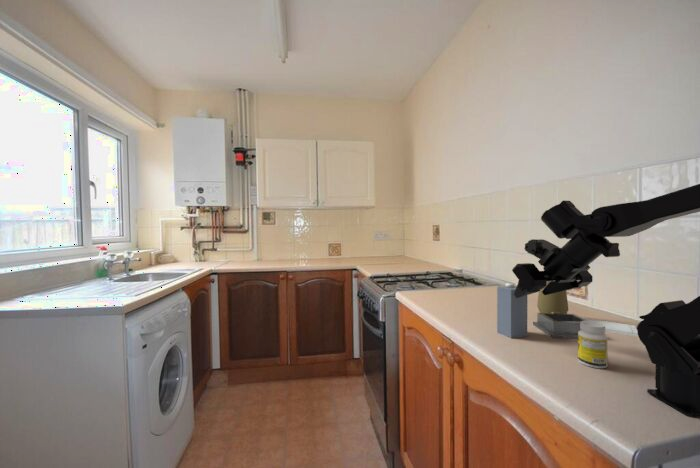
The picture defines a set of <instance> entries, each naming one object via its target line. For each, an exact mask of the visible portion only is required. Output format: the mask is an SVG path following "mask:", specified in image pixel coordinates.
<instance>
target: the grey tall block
mask: <svg viewBox="0 0 700 468" xmlns="http://www.w3.org/2000/svg"><path fill="white" fill-rule="evenodd" d="M516 287H517V285H515V284H514V283H512V282H511V283H509V282H508V283H505V284H504V285H500V286H497V287H496V290H497V292H496V294H497V295H496V298H497V299H496V302H497V303H496V310H497V311H496V312H497V314H496V317H497V318H496V320H497V321H496V325H497V326H496V329H497V330H496V332H497V333H498V334H500V335H503V336H505V337H507V338H510V339H516V338H521V337H527V336H528V295H526V296H523V297H519V298H516V297H515V296H514V292H515V290H516Z"/></svg>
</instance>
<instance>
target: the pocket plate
mask: <svg viewBox="0 0 700 468" xmlns="http://www.w3.org/2000/svg"><path fill="white" fill-rule="evenodd" d="M584 318H585V317H581V316H579V315H577V314H574V313H567V314H563V313H560V312H552V313H540V312H537V319H536V320H537V321H532V325H533V326H535V327H536V328H538V330H540V331H542V332H543V333H544V334H546V335H548V336H549V337H551V338H554V339H577V340H578V332H579V331H580V330H581V329H580V322H581V321H588V320H586V319H584Z"/></svg>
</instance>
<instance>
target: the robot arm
mask: <svg viewBox="0 0 700 468" xmlns="http://www.w3.org/2000/svg"><path fill="white" fill-rule="evenodd" d="M695 213H700V183H698V184H695V185H691V186H688V187H685V188H682V189H679V190H675V191H673V192H669V193H666V194H663V195H659V196H656V197H653V198H650V199H646V200H640V201H639V200H638V201H633V202H631V201H630V202H624V203H617V204H610V205H606V206H604V205H603V206H600V207H597V208H596V209H594V210H593V211H591V213H588V214H584V213H583V212H582V211H580V209H578V208H577V206H576V205H575V204H574V203H573V202H572V201H571V200H562V201H560V202H559V204H555V205H554V206H552V207H550V208H549V209H546V210H545V211H544V212H542V215H541V216H540V220H541V222H543V224H544V225H545V226H546V227H547V228H548V229H549V230H550V231H551V232H552V233H553V235H555V236H556V237H557V239H566V240H568V241H567V242H566V243H565V244H564V245H562V247H560V246H558V245H556V244H554V243H552V242H550V241H549V240H547V239H546V240H545V239H542V238H541V239H530V240H528V241H527V242H526V243H524V251H526V253H528V254H530V255H532V256H533V257H536V258H537V259H538V261H537V262H538V264H539V265H540V266H543V267H542V268H543V270H539V268H538V267H537V265H536V264H535V263H530V262H527V263H525V262H524V263H517V264H516V265H514V267H513V268H512V270H511V271H512V273H513V274H514V275H515V277H516V278H517V279H518V281H517V285H516V286H517V287H516V290H515V292H514V296H515V297H516V298H519V297H523V296H526V295H527V296H530V295H532V294H536V293H539V291H540V289H543V288H544V287H545V286H546V282H550V283H549V284H548V285H547V286H546V287H545V288H544V290H543V291H542V293H543V294H544V295H549V294H553V293H557V292H562V291H566V292H567V291H570V290H575V289H579V288H582V287H583V288H584V287H587V286H589V285H590V284H592V283H593V275H592V274H591V273H590V272H589V271H588V270H590V269H591V266H590V265H591V263H593V262H594V261H595V260H596V259H597V258H599V257H600V256H601V255H603V256H604V258H618V257H620V256H621V252H620V251H621V250H620V248H619V247H620V243H618V242H611V241H610V240H609V239H608V238H617V237H618V238H619V237H620V238H622V237H624V238H625V237H630V236H634V235H636V234H639V233H641V232H644V231H646V230H649V229H651V228H653V227H654V226H657V224H660V223H663V222H664V221H668V220H672V219H675V218H679V217H680V218H681V217H684V216H688V215H691V214H695ZM639 319H641V321H640V322H639V323H638V324H637V325H636V328H637V331H638V336H639V337H638V338H639V341H640V342H641V343H642V344H643V346H644V347H645V349H646V352H647V354H648V357H649V359H650V362H651V364H654V365H655V381H654V382H655V384H654V385H655V389H654V388H653V389H652V388H648V389H646V393H648V394H650V395H651V396H653V398H654V397H655V398H656V399H658V400H660V401H661V402H663V403H665V404H667V405H668V406H670V407H672V408H673V409H676V410H677V411H678V412H681V413H682V414H684V415H686V416H690V417H691V416H692V417H697V416H698V417H700V295H698V296H697V297H695V298H694V299H693V300H691V301H690V302H688V303H686V302H685V301H684V300H682V299H680V300H674V301H665V302H660V303H658V304H657V305H656V306H654V308H653V309H652V310H651V311H650V312H649V313H646V314H645V315H639Z"/></svg>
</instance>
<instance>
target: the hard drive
mask: <svg viewBox="0 0 700 468" xmlns="http://www.w3.org/2000/svg"><path fill="white" fill-rule="evenodd" d="M583 318H584V319H586V320H588V321H593V322H598V323H601V324H603V325H605V333H614V334H620V335H625V336H629V337H630V336H631V337H637V338H639V336H638V331H637V326H636V325H633V324H628V323H627V324H626V323H619V322H614V321H606V320H600V319H593V318H586V317H583Z"/></svg>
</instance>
